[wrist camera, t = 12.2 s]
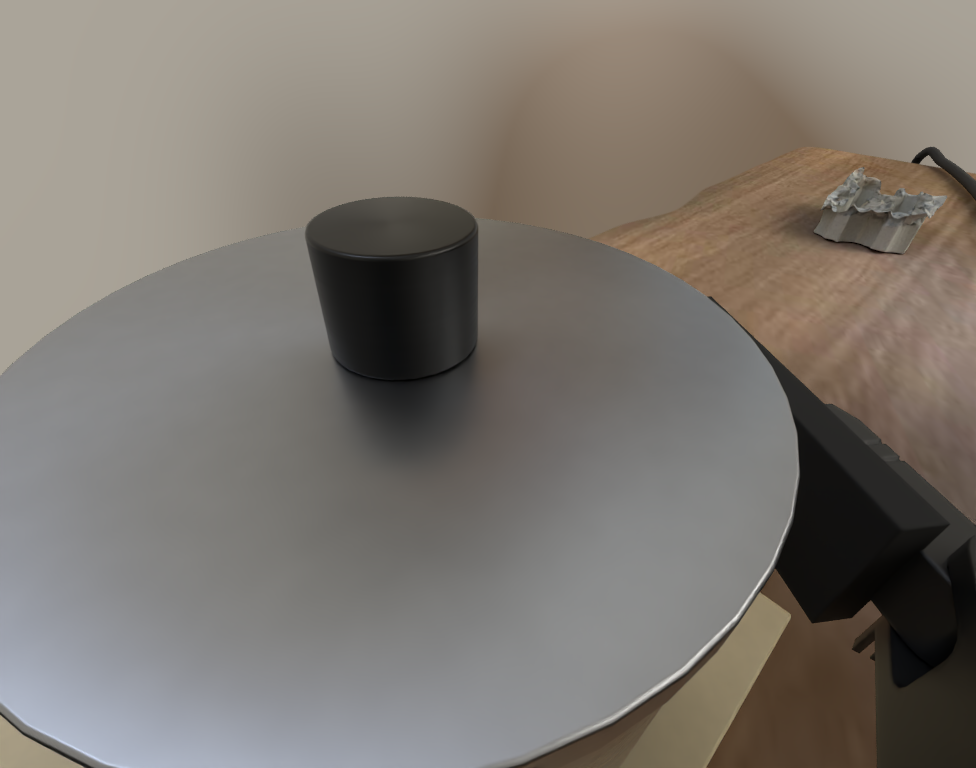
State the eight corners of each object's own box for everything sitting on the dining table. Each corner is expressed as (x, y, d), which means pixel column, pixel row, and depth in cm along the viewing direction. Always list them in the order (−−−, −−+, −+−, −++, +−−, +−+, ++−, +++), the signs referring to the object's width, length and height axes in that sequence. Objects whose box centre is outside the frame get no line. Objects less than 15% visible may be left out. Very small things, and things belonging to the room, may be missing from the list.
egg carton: (838, 208, 47) (859, 165, 45) (929, 229, 43) (958, 182, 41) (800, 234, 41) (822, 185, 39) (901, 261, 37) (933, 208, 35)
